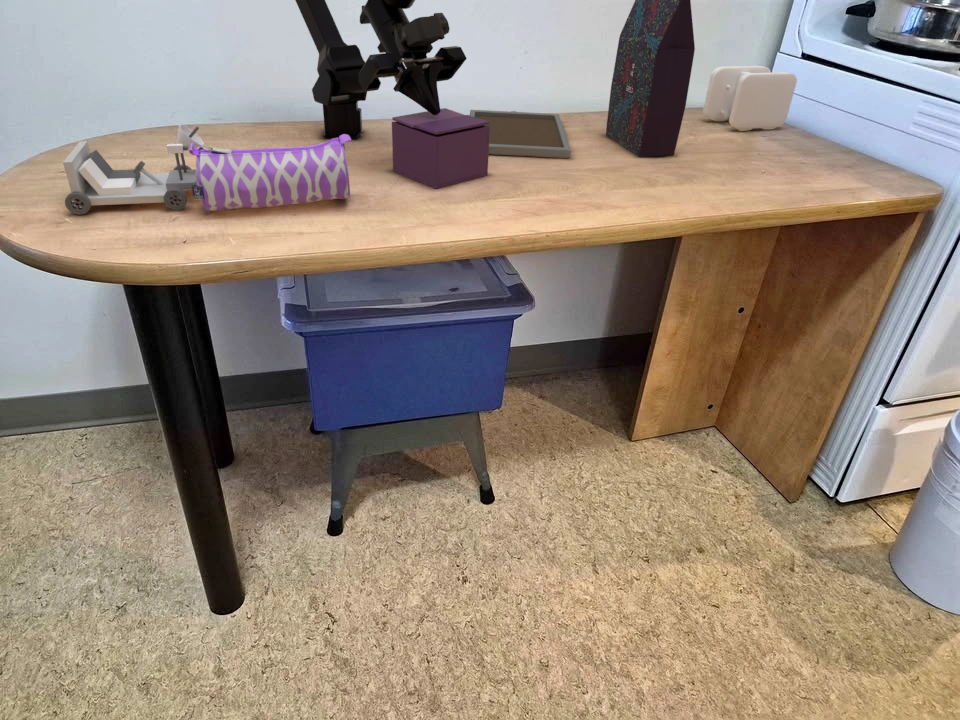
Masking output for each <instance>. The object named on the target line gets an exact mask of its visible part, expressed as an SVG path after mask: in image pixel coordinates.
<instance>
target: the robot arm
mask: <svg viewBox="0 0 960 720" xmlns="http://www.w3.org/2000/svg"><path fill="white" fill-rule="evenodd" d="M415 1H416V0H367V1H366V3H365V5H362V6H361V12H360V15H359V24H360V25H369V24H370V26H371V27H372V30H373V31H374V33H375V35H376V37H377V39H378V41H379V43H378V45H377V46H376V48H377V50H378V53H376V54H375V53H374V54H369V55H368V57H367V59H366V61H365V60H364V58H363V55H362V53H361V50H360V48H359V47H358V44H357V45H356V44H347V43H346V42H344V40H343V38H342V36H341V35H342V34H341V33H340V31H339V28H338V26H337V24H336V22H335V20H334V17H333V15H332V13H331V10H330V8H329V6H328V4H327V1H326V0H295V1H294V2H295V3H296V5H297V7H298V9H299V12H300V14H301V17H302V19H303V21H304V23H305V25H306V27H307V30H308V32H309V35H310V37H311V39H312V41H313V43H314V45H315V48H316V50H317V53H318V60H317V67H316V71H317V75H318V77H317V79H316V81H315V83H314V85H313V86H312V88H311V93H312V96H313V100H314V102H316V103H318V104H321V105H322V113H323V114H322V115H323V127H324V133H323V135H322V137H323V138H324V139H333V138H339V136H340V135H342V134H347V135H349V136H350V138H351V140H352V139H353V140H357V139H359V137H360V135H361V134H362V132H363V119H362V118H363V116H362V114H363V113H362V108H361V107H359V102H361V101H362V102H365V101H366V100H367V96H368V95H367V94H368V92H373V91H378V90H379V89H380V87H381V84H382V82H381V80H380V78H382V79H383V78H384V79H385V78H391V77H394V81H395V83H396V84H395V85H394V86H393V91H394V92H396V93H397V92H399V93H401V94H402V95H403V96H405V97H407V98H408V99H410V100H412V101H413V102H414V103H416V104H417V105H419V106H420V107H421V108H422V109H424V110H425V111H428V112H430V113H431V114H433V115H438V114H439V113H440V109H441V105H440V98H439V90H438V82H442V81H443V82H444V81H449V80H450V79H452V78H453V77H454V76H455V75H456V74H457V72H458V70H459V69H460V68H461V67H462V66H463V64H464V63H465V61H466V60H467V56H466V54H465V52H464V50H463V48H462V47H461V46H457V45H452V46H444V47H443V46H442V47H439V49H438V50H437V52H436V53H435V54H434V56H433V57H428V56H427V55H428V54H430V53H431V52H432V51H433V49H434V47H433V45H432V44H434V43H436V42H437V41H440V40H441V41H442V40H444V39H445V36H446V35H447V34H450V24H449V21H448V19H447V17H446V16H445V15H444V13H443V12H434V13H433V15H430V16H420V17H416V18H414V19H412V20H411V21H410V20H409V18H408V16H407V15H406V14H407V13H405V10H407V9H410V8H411V7H412V6H414V3H415Z"/></svg>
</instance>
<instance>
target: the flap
mask: <svg viewBox="0 0 960 720" xmlns="http://www.w3.org/2000/svg"><path fill="white" fill-rule="evenodd" d="M464 115H465V114H463V113H461V112H458V111H455V110H452V109H449V108H446V107H444V108H440V113H439V114H438V115H433V114H431V113H430V112H428V111H427V110H425V111H421V112H416V113H410V114H404V115H398V116H397V115H396V116H393V117H391V121H393V122H399V123H402V124H405V125H407V126H410V127H412V128H415V127H414V125H415V124H421V123H426V122H431V121H437V120H442V119H447V118H453V117H458V116H464Z"/></svg>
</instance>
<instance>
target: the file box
mask: <svg viewBox="0 0 960 720" xmlns="http://www.w3.org/2000/svg"><path fill="white" fill-rule="evenodd" d="M463 115H464V116H458V117H453V118H447V119H442V120H437V121H431V122H426V123H421V124H415V125H414V127H415V128H412V127H410V126H407V125H405V124H402V123H399V122H397V121H393V122H391V141H392V146H391V147H392V171H393V172H394V173H396V174H398V175H401V176H404V177H406V178H408V179H411V180H413V181H415V182H419V183H421V184H423V185H425V186H428V187H430V188H433V189H435V190H437V189H440V188H444V187H447V186H452V185H456V184H460V183H464V182H467V181H471V180H475V179H478V178H482V177H486V176H488V175H489V174H488V171H489V155H490V154H489V135H490V127H489V126H486V125H487V124H490V122H489V121H486V120H483V119H479V118H476V117H473V116H470V114H463Z"/></svg>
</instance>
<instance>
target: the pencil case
mask: <svg viewBox="0 0 960 720" xmlns="http://www.w3.org/2000/svg"><path fill="white" fill-rule="evenodd" d="M350 142H352V139H351V138H350V136H349V135H347V134H342V135H340V136H339V138H329V140H327V141H324V142H321V143H316V144H312V145H311V144H310V145H301V146H288V147H286V146H285V147H270V148H269V147H261V148H229V149H227V148H221V147H211V145H206V144H204V145H202V146H200V147H197V148H194V147H193V146H194V143H193V142H192V143H191V144H190V148H189V150H188V152H189V154H191V155H192V156H195V169H196V179H197V185H192V189H191V192H192V199H193V200H195V201H197V200H198V201H199V200H201V202H202V205H203V208H204V210H205V211H207V212H214V211H227V210H228V211H229V210H237V209H259V208H260V209H261V208H272V207H278V206H279V207H281V206H288V205H289V206H290V205H299V204H308V203H315V202H323V201H329V200H330V201H331V200H346V199H348V198H349V197H350V196H351V186H350V177H349V176H350V175H349V169H348V162H347V157H346V146H345V144H346V143H347V144H348V143H350ZM195 187H197V188H195Z"/></svg>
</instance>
